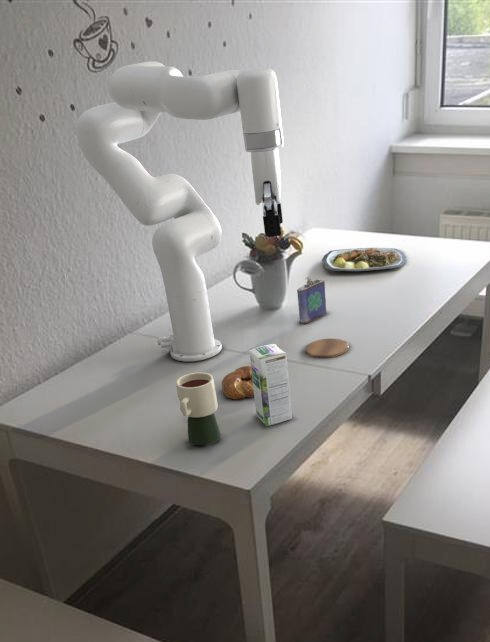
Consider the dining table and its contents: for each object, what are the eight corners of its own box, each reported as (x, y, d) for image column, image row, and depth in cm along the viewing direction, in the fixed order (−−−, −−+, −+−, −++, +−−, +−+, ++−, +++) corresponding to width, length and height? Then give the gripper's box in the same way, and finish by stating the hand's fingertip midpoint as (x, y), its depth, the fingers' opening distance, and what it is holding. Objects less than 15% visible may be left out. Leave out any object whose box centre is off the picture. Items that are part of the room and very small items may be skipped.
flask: (304, 325, 199) (301, 283, 194) (296, 322, 201) (292, 282, 196) (329, 313, 204) (326, 273, 199) (320, 311, 206) (317, 271, 201)
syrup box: (255, 416, 159) (246, 349, 152) (282, 408, 161) (274, 342, 153) (266, 427, 154) (258, 359, 147) (293, 419, 156) (286, 351, 149)
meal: (407, 273, 226) (407, 264, 225) (319, 278, 230) (319, 269, 228) (404, 248, 247) (404, 239, 246) (324, 252, 251) (323, 244, 249)
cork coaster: (305, 359, 181) (304, 356, 180) (306, 342, 189) (306, 340, 189) (348, 356, 180) (348, 353, 179) (348, 339, 188) (348, 337, 188)
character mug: (202, 425, 158) (192, 366, 151) (233, 429, 155) (224, 369, 148) (175, 452, 150) (163, 391, 143) (208, 457, 147) (197, 394, 140)
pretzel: (245, 406, 163) (243, 390, 162) (210, 394, 170) (207, 378, 168) (284, 384, 170) (282, 368, 169) (248, 373, 177) (246, 358, 175)
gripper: (247, 136, 160) (258, 221, 168) (241, 150, 145) (253, 243, 153) (284, 131, 159) (293, 217, 168) (281, 145, 144) (291, 238, 153)
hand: (274, 229), depth 160 cm, fingers open, 9 cm apart
